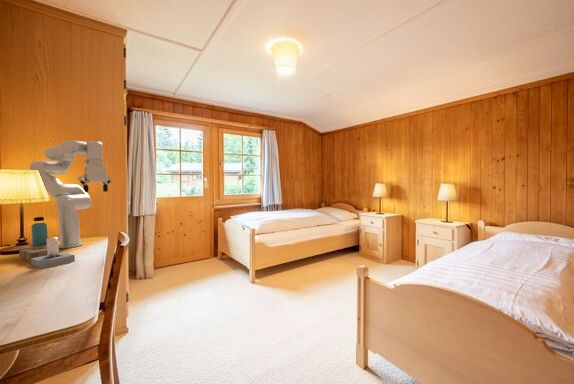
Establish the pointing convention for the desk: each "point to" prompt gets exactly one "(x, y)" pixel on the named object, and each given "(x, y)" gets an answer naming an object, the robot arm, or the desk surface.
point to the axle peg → (52, 247)
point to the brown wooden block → (32, 252)
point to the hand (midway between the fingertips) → (96, 191)
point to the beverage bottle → (39, 232)
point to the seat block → (52, 260)
